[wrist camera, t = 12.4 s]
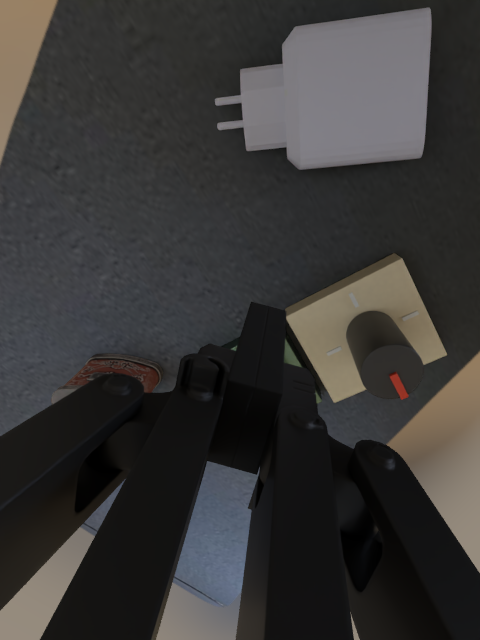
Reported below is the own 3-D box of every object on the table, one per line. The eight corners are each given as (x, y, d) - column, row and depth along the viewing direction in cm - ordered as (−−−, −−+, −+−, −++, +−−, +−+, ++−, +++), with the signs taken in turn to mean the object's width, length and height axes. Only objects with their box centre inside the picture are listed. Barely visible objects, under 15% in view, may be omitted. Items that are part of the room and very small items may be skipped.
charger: (215, 54, 32) (412, 27, 30) (226, 177, 35) (406, 159, 33) (203, 35, 28) (433, 2, 26) (218, 177, 31) (424, 157, 29)
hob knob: (337, 324, 36) (350, 362, 29) (384, 301, 35) (410, 335, 27) (358, 363, 37) (376, 410, 30) (404, 343, 36) (435, 386, 28)
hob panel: (394, 252, 36) (402, 258, 33) (437, 344, 38) (448, 355, 36) (284, 308, 39) (284, 317, 36) (331, 390, 41) (334, 404, 38)
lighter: (163, 360, 42) (128, 413, 32) (162, 388, 43) (128, 447, 34) (88, 349, 42) (33, 399, 33) (89, 377, 44) (36, 433, 34)
